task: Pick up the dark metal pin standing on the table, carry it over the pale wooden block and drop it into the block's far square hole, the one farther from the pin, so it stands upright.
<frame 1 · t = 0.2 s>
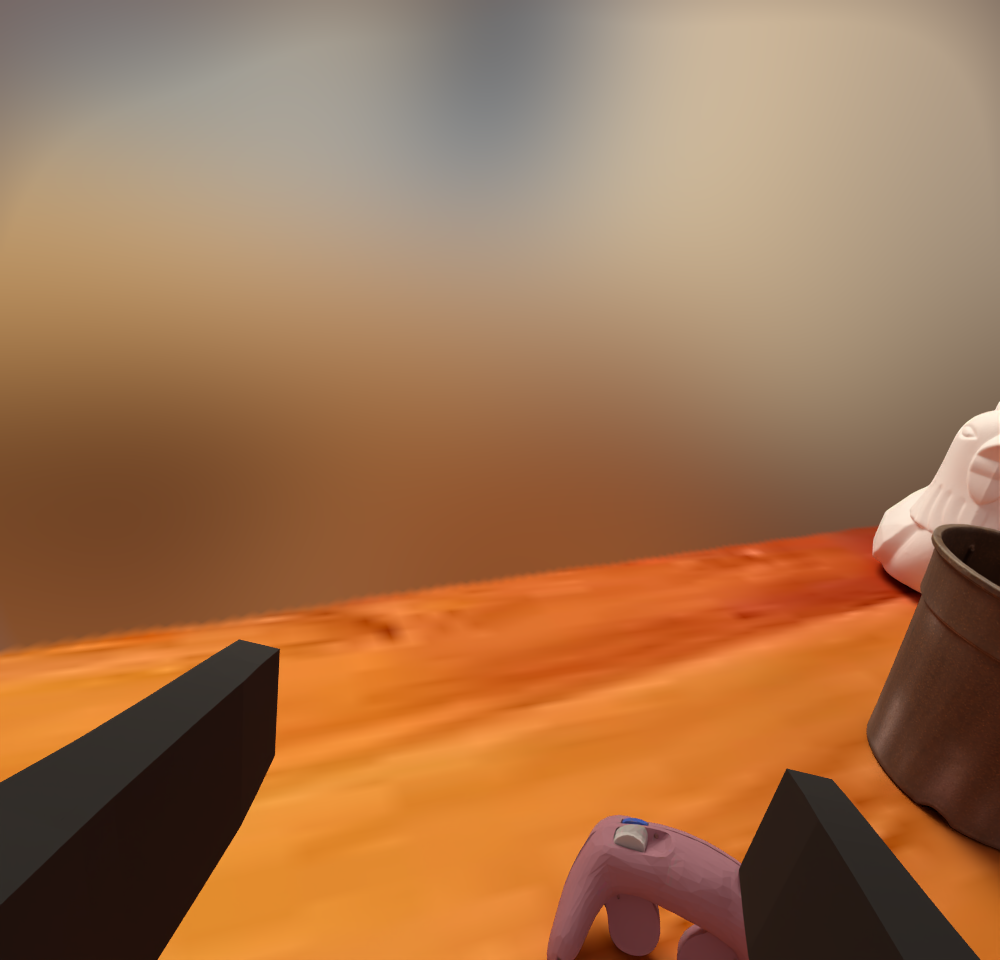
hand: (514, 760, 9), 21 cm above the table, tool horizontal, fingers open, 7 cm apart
plant pot: (952, 782, 45), on the table
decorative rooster: (938, 585, 78), on the table
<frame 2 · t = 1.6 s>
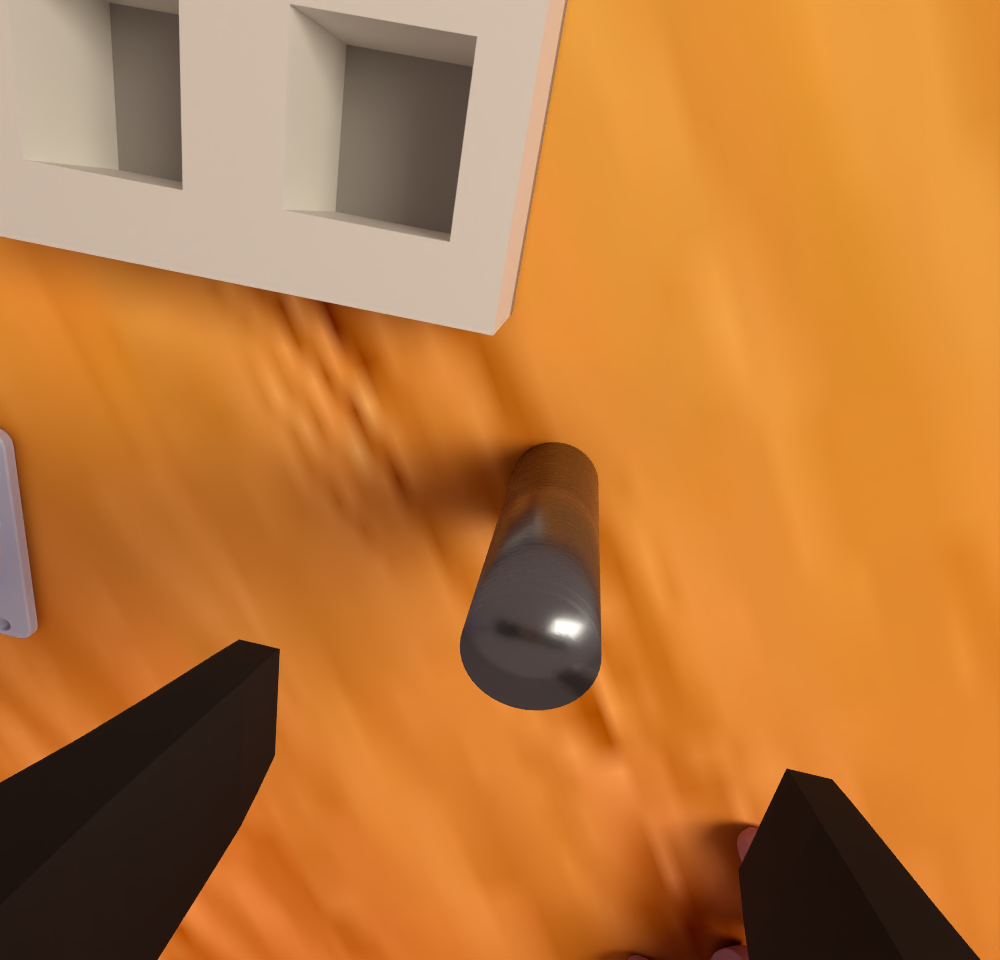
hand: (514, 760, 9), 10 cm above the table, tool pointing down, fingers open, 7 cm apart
video game controller: (741, 913, 25), on the table
bore block: (305, 126, 16), on the table
pin: (554, 483, 19), on the table
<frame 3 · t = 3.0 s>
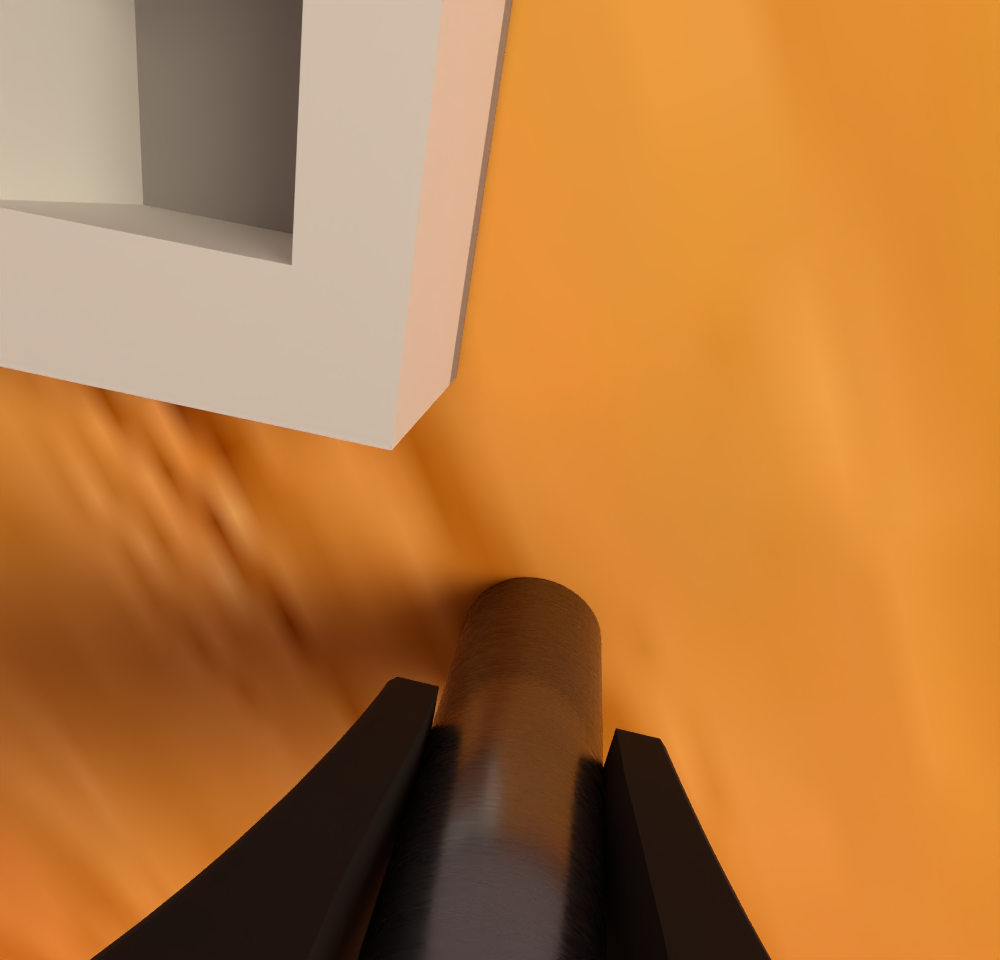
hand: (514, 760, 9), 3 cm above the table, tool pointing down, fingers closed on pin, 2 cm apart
bore block: (86, 54, 9), on the table
pin: (532, 637, 12), on the table, touching gripper
when the fingers open (4 cm above the table, at t = 6.5 s): pin stays where it is, resting on bore block.
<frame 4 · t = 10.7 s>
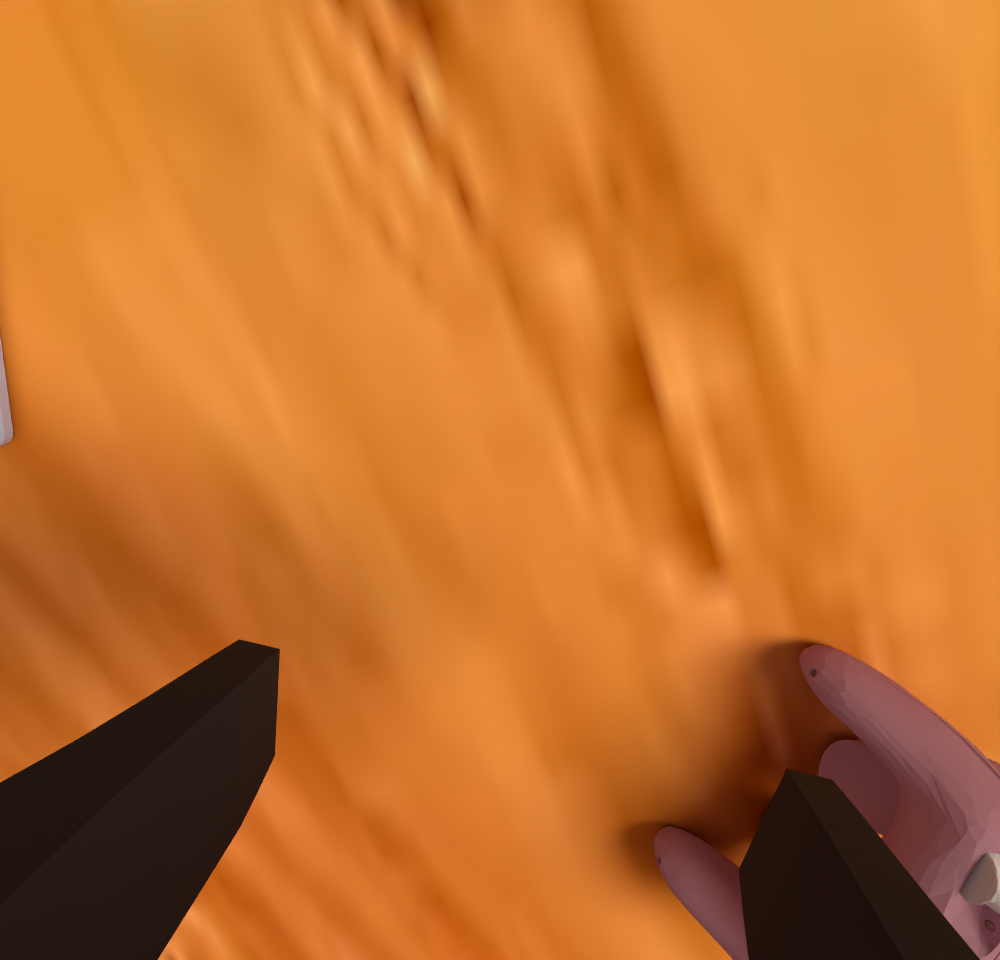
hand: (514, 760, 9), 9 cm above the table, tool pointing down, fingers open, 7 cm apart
video game controller: (799, 768, 20), on the table
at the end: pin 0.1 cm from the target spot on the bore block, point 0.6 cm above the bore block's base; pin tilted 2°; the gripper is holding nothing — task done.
